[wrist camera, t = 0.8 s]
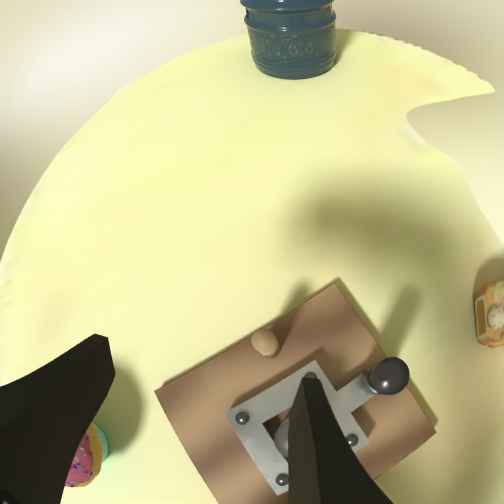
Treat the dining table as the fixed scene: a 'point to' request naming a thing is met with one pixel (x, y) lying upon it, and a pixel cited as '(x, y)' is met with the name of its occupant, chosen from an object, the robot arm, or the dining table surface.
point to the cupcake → (88, 457)
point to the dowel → (266, 343)
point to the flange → (282, 397)
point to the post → (282, 437)
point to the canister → (291, 36)
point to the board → (270, 373)
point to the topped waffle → (490, 314)
